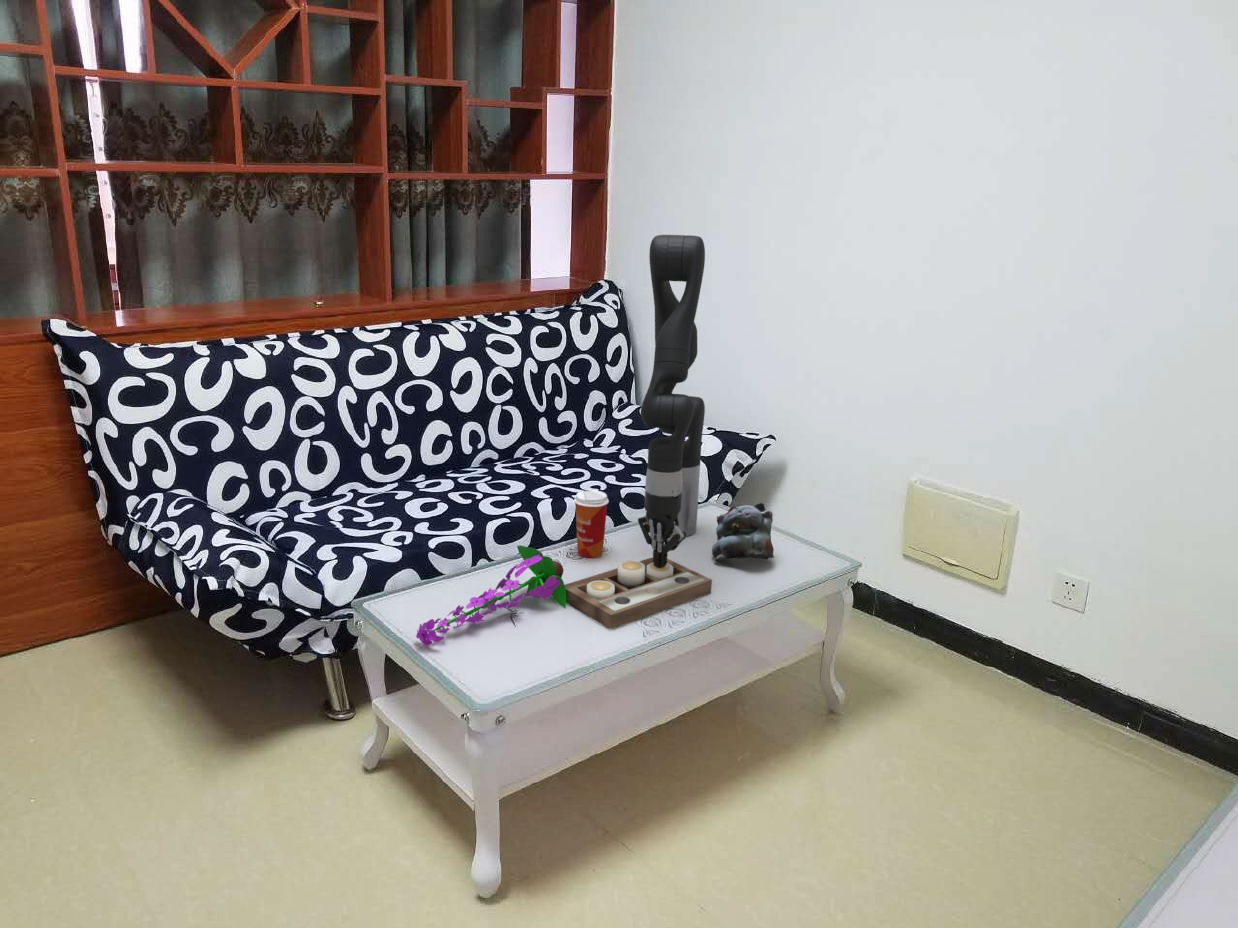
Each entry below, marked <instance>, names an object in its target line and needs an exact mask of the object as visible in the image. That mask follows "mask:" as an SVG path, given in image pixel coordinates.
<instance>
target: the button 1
mask: <svg viewBox="0 0 1238 928" xmlns="http://www.w3.org/2000/svg"><path fill="white" fill-rule="evenodd" d="M587 594H588V595H590V596H592V597H593V598H595V599H597V600H600V599H603V598H606V597H609V596H612V595H615V586H614V584H613V583H611V582H608V581H602V580H598V581H592V582H590V583H588V584H587Z"/></svg>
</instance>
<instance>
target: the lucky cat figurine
mask: <svg viewBox="0 0 1238 928" xmlns="http://www.w3.org/2000/svg"><path fill="white" fill-rule="evenodd" d="M773 514H774V513H773V512H772V511H771V510H769V509H768V510H766V508H765V505H764V503H763V502H759V503H757V504H755V505H749V504H748V505H740V506H735V505H732V506H731V507H730V508H729V509H728V510H727V512H726V513H720V515H717V516H716V523H717V526H716V528H715V531H716V532H715V535H716V537H717V541H715V543H714V544H713V545H712V548H711V551H712V552H711V554H712V556H713V561H716V562H720V561H723V560H734V559H735V560H736V559H763V560H764V559H765V560H768V559H773V558H774V557H775V556H774V546H773V543H772V535H771V534H772V524H773V522H774V519H773V516H774V515H773Z"/></svg>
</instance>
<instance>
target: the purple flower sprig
mask: <svg viewBox="0 0 1238 928" xmlns="http://www.w3.org/2000/svg"><path fill="white" fill-rule="evenodd" d="M516 549H517V551H518V553H519V554H520V556H521V557H522V561H521V562H519V564H518V563H517V564H515V565H514V566H513V567H512V568H510V569H509V570H508V572H507V573H506V574H505V578H502V579H501V580H500V581H499V582H498V584H497V585H496V587H495V588H494V589H492V587H490V588H489V589H488V591H486V590H485V591H484V592H482V594H481V595H478V597H477V596H473V597H471V598H470V599H469V602H468V603H467V605H466V606H463V605H462V606H461V605H460V604H459V605H457V607H456V608H455V610H454V609H453V610H451V611H449V613H448V614H447V615H446V616H447V617H449V616H450V615H452V617H454V618H452V619H447V618H446V617H445V618H444V619H441V618H439V617H438V618H437V619H433V618H430V619H429V620H427V621H426V622H423V623H420V624H419V626H418V629H416V632H417V633H416V635H415V636H416V639H419V641H420V642H421V643H422V645H425V646H431V645H433V642H434V643H439V642H441V641H443V640H444V637H443V636H441V635H438V634H437V633H439V634H443V635H444V634H446V633H447V632H448V631H449V630H450V628H449V627H450V626H451V624H452V623H456V624H457V625H456V626H452V629H456V628H459V627H463V626H464V625H465V623H471V624H475V623H481V622H484V619H483V618H484V616H487V615H489V614H492V613H493V612H495V611H496V610H497V608H498V609H503V608H507V609H510V608H511V609H512V608H514V607H515V608H516V606H518V605H520V604H521V602H520V600H522V599H523V598H524V596H525V597H526V596H527V597H534V598H536V597H540V598H541V599H543V600H545V599H548V598H549V597H550V596H551V598H552V600H553V601H554V602H556V604H558V605H560V606H561V607H562V608H564V609H566V605H567V603H566V590H565V582H564V580H563V578H562V577H563V575H564V567H563V565H562V563H560V562H559V561H556V560H553V559H552V557H550V556H546V555H544V554H543V553H542V552H541V551H540V550H538V549H536V548H534V547H529V546H526V545H525V546H524V545H516ZM516 569H517V570H516ZM527 569H529V570H530V571H531V572H532V574H534V576H531V577H530V578H529V579H528V580H526V581H525V582H523V583H520V580H518V579H517V578H519V576H520V575H523V573H525V571H526V570H527ZM515 570H516V572H515V573H514V578H516V579H517V580H513V579H511V575H512V574H513V572H514V571H515ZM520 577H521V576H520ZM525 587H527V589H526V593H520V594H518V595H517V596H515V597H514V598H512V594H514V593H516V592H517V591H519V590H521V589H524V588H525ZM498 589H501V590H502V591H498ZM505 591H507V592H505ZM508 596H509V601H505V602H502V603H497V602H498V601H502V600H503V599H504V598H505V597H508ZM470 608H471V610H468V611H467V612H465V611H464V610H463V609H470ZM487 609H488V610H487ZM480 610H487V611H486V612H484V613H480ZM468 616H469V617H468ZM436 624H437V626H436ZM435 626H436V628H435ZM445 627H446V628H445Z"/></svg>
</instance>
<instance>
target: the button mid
mask: <svg viewBox="0 0 1238 928" xmlns="http://www.w3.org/2000/svg"><path fill="white" fill-rule="evenodd" d="M617 568H618V577H617V580H618V581H619V582H620V583H622V584H625V585H639V584H642V583H643V582H644V581H645V565H644V564H643V563H641V562H639V560H638V561H637V560H623V561H621V562H619V563H618V564H617Z"/></svg>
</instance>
